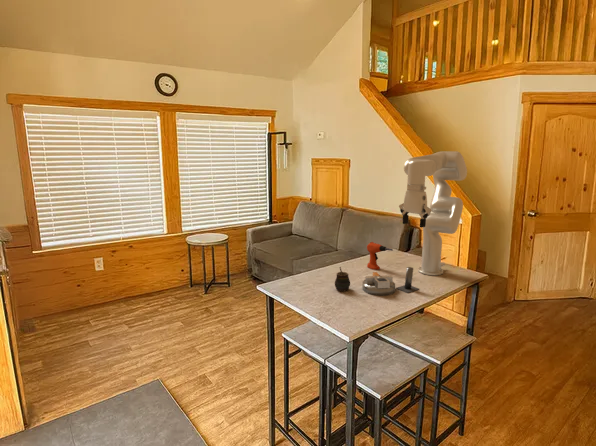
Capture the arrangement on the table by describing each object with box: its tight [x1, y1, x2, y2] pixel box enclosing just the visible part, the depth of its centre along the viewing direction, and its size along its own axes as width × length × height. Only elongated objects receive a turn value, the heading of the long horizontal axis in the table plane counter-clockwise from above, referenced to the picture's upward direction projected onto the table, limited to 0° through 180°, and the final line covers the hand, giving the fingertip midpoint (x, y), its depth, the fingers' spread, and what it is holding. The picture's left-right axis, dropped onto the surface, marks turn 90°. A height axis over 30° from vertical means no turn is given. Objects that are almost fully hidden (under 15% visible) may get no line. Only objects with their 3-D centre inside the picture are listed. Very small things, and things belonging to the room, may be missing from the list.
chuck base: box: [361, 279, 396, 297], centre depth 176 cm, size 15×15×3 cm
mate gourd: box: [334, 266, 351, 292], centre depth 176 cm, size 7×8×10 cm
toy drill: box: [366, 241, 394, 271], centre depth 202 cm, size 5×19×15 cm, turn 33°
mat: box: [395, 284, 420, 294], centre depth 176 cm, size 8×7×1 cm
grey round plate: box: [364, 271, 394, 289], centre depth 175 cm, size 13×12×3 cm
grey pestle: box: [404, 266, 414, 289], centre depth 175 cm, size 3×3×10 cm
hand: (413, 225), depth 172 cm, fingers open, 9 cm apart
